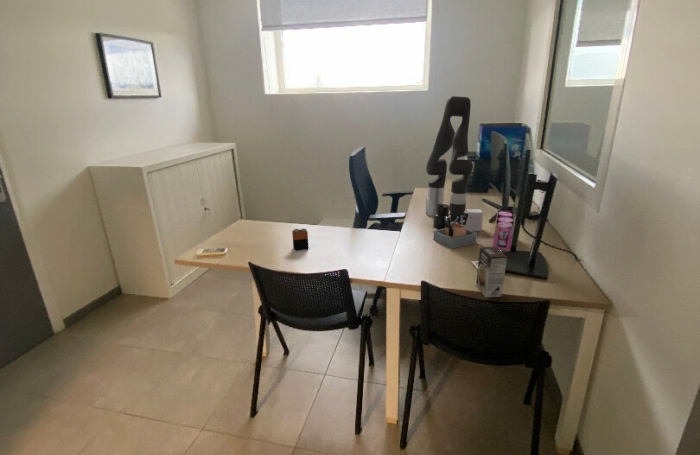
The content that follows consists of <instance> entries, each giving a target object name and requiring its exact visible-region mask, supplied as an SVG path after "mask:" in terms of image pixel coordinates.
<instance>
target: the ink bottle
mask: <svg viewBox="0 0 700 455" xmlns="http://www.w3.org/2000/svg"><path fill="white" fill-rule="evenodd" d="M449 205H450V204H446V203H443V204H438V205H437V207H436V213H435V214H434V217H433V225H432V226H433V227H434V228H436V229H438V230H440V229H444V228H445V219H444V218H445V216H446V217H448V216H449V214H450V210H449Z"/></svg>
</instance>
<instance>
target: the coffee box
mask: <svg viewBox="0 0 700 455" xmlns="http://www.w3.org/2000/svg"><path fill="white" fill-rule="evenodd" d="M478 261H479V263H478V269H477V273H476V281H475V282H476V284H475V286H476V287H477V288H478V290H479V291H480V293H482V295H483V297H484V298H494V297H495V298H499V297H502V295H503V288H504V281H505V273H506V268H507V263H508V262H507V261H508V256H507V255H506V254H505V252H501V251H500V250H499V249H498V248H497V247H493V246H480V247H479V255H478Z"/></svg>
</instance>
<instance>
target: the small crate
mask: <svg viewBox="0 0 700 455" xmlns="http://www.w3.org/2000/svg"><path fill="white" fill-rule="evenodd" d="M453 223H454V222H453ZM451 226H452V225H451ZM466 228H467V227H466V226H464V225H461V224H458V223H457V222H456V225H454V228H453V229H454V230H453V236H449V234H448V233H449V228H446V227H445V235H447V236H449V237H451V238H454V239H455V238H458V237H462V236H466Z"/></svg>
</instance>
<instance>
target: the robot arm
mask: <svg viewBox="0 0 700 455" xmlns="http://www.w3.org/2000/svg"><path fill="white" fill-rule="evenodd" d="M471 106H472V105H471V100H470V98H469V97H467V96H459V95H458V96H455V95H451V96H449V97H448V99H447V100H446V103H445V106H444V112H443V116H442V120H441V124H440V126H439V129H438V132H437V135H436V138H435V142H434V145H433V148H432V151H431V154H430V155H429V159H428V160H427V163H426V170H425V171H426V173H427V174H428V175H429V176H436V177H435V178H433V179H431V180H429V181H428V186H427V188H428V189H427V197H426V199H425V200H426V202H425V203H426V204H425V214H426V215H427V216H429V217H433V218H434V214H435V213H436V207H437V205H438V204H444V197H445V186H446V178H447V169H448V171H449V173H450V174H451V175H453V176H457V175H458V176H462V177H460V178H455V179H453V180H451V188H450V189H451V190H450V196H449V204H448V205H449V216H448V217H446V216H445V218H444V219H445V227H446V228H449V233H448V234H449V236H453V230H454V229H453V228H454V225H456V223H458V224H461V225H463V226H464V225H466V222H467V218H468V215H469V214H468V213H466V208H467V207H466V204H467V190H468V184H469V180H470V176H471V174H472V171H473V169H474V163H473V161H472V160H471V159H459V158H463V157H466V156H467V155H468V154H469V141H468V140H469V139H468V138H469V128H470V118H471V117H470V116H471V108H472V107H471ZM452 117H461V123H460V125H459V126H458V128H457V129H456V131H455V130H454V127H453V124H452V122H451V118H452ZM450 149H452V154H451V159H450V162H449V165H448V162H447V160H446V159H445V158H442V156H443V155H445V154H446V153H448V152H449V151H450ZM453 222H454V223H453ZM451 225H452V226H451Z"/></svg>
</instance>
